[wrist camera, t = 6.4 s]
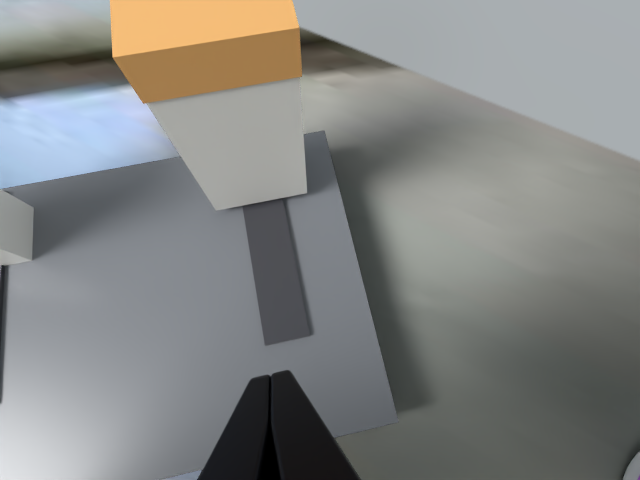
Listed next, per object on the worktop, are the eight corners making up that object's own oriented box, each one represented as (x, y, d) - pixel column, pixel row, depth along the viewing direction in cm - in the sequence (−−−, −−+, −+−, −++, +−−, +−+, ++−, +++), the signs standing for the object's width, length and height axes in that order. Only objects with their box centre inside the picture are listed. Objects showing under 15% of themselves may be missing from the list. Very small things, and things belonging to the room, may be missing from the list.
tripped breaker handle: (308, 193, 16) (298, 27, 8) (214, 211, 16) (112, 57, 8) (297, 143, 17) (278, -52, 9) (208, 159, 17) (108, -28, 9)
